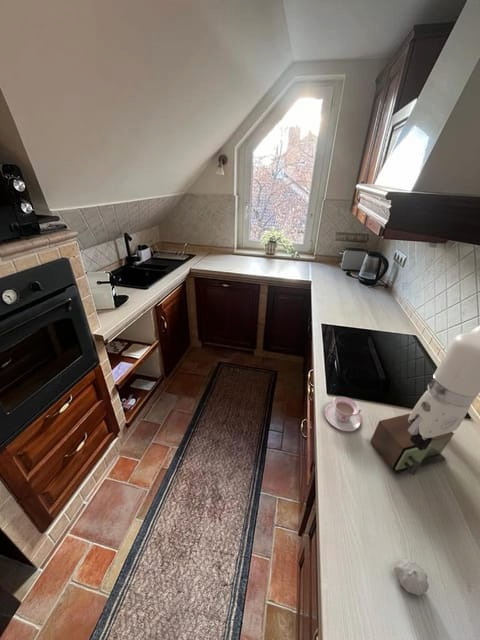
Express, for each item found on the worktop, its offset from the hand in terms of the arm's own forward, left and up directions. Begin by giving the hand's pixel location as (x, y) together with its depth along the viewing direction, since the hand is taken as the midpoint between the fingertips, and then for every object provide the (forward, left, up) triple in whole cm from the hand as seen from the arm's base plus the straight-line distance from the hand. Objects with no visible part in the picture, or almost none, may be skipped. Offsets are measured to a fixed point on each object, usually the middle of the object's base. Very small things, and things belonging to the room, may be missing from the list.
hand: (417, 444), depth 62 cm
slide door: (-5, -4, -16) cm, 17 cm away
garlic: (+2, +21, -17) cm, 27 cm away
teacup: (+12, -19, -17) cm, 29 cm away
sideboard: (-6, -12, -17) cm, 21 cm away
